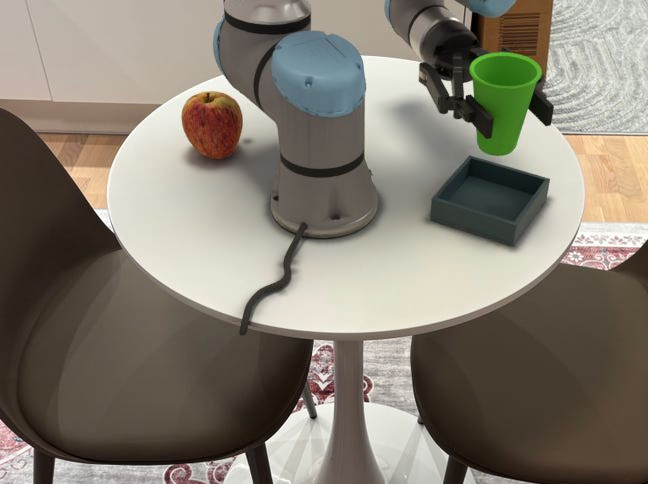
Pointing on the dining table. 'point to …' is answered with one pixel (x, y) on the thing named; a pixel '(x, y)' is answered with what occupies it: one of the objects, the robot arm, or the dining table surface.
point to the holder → (489, 200)
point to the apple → (212, 123)
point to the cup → (504, 96)
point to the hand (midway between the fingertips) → (520, 122)
